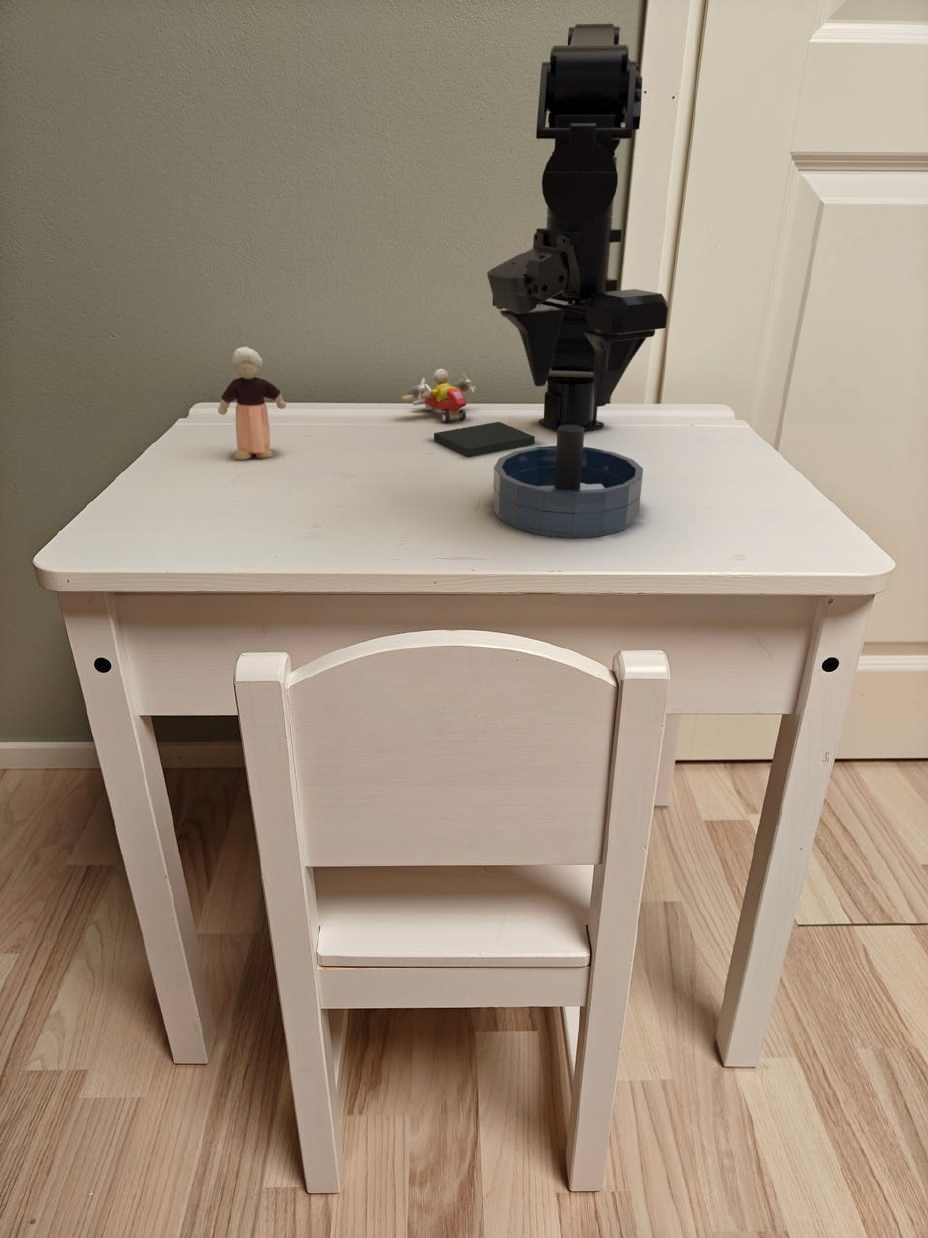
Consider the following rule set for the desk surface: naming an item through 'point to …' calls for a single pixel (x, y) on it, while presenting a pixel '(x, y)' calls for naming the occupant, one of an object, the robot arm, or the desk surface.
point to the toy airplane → (442, 395)
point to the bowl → (567, 493)
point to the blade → (570, 460)
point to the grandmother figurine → (250, 405)
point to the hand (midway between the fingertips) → (568, 395)
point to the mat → (483, 438)
